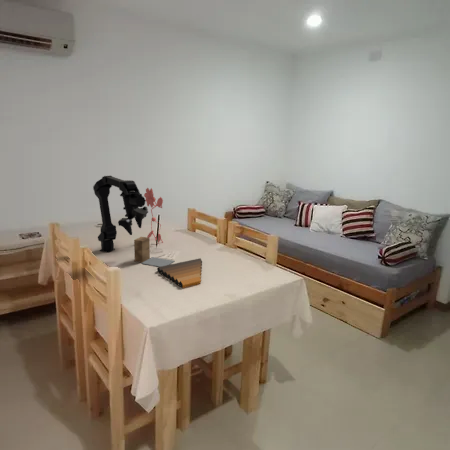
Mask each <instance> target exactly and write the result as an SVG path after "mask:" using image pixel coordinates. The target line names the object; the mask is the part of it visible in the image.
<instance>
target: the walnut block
mask: <svg viewBox="0 0 450 450" xmlns="http://www.w3.org/2000/svg"><path fill="white" fill-rule="evenodd" d="M150 242H151V241H150V238H147V237H146V236H140V237H138V238H135V239H134V240H133V243H134V244H133V247H134V249H133V250H134V262H138V263H142V262H144V261H146V260H148V259H150V258H151V256H150V251H151V250H150V248H151V247H150V246H151V245H150Z"/></svg>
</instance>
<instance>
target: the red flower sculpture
mask: <svg viewBox="0 0 450 450" xmlns="http://www.w3.org/2000/svg"><path fill="white" fill-rule="evenodd" d="M143 197H144V198H145V203H146V207H150V208H151V209H150V213H151V216H152V217H151V221H150V225H151V227H150V228H151V230H150V232H149V233H148V235H147V238H149V239H150V238H151V237H152V236H153V238H154V240H155V241H154V242H156V240H157V235H156V236H155V233H154V230H153V223H152V222H154V223H157V224H158V223H159V222H158V221H156V220H157V218H156V217H154V214H153V210H154V209H155V208H156V207H158V208H161V209H163V203H164V200H163V198H162V197H161V196H159V198H157V201H156V198H155V196H154V190H153V188H152V187H151V188H150V189H149V187H147V188H145V193H144V196H143ZM161 226H162V225H161V224H160V223H159V230H158V233H157V234H158V244H159V243H160V242H161V243H164V241H163V239H162V235H161V234H160V230H161ZM151 247H152V248H153V247H154V246H153V245H150V248H151Z"/></svg>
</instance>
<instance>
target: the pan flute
mask: <svg viewBox="0 0 450 450" xmlns="http://www.w3.org/2000/svg"><path fill="white" fill-rule="evenodd" d="M156 268H157V273H159V274H161V276H164V277H165V278H167V279H169V280H170V281H171V282H173V283H175V285H177V286H179V287H180V289H181V288H182V289H184V288H189V287H191V286H194V285H199V284H200V285H201V283H202V271H203V270H202V269H203V260H202V258H201V257H200V258H199V257H198V258H195V259H190V260H187V261H181V262H177V263H175V262H174V263H172V264H170V265H166V266H161V267H156Z"/></svg>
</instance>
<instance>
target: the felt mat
mask: <svg viewBox="0 0 450 450" xmlns="http://www.w3.org/2000/svg"><path fill="white" fill-rule="evenodd" d="M140 263H141V265H146V266H152V267H156V268H158V267H161V266H166V265H171V264H174V263H175V260H172V259H167V258H160V257H154V256H150V259H148V260H146V261H144V262H140Z"/></svg>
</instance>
